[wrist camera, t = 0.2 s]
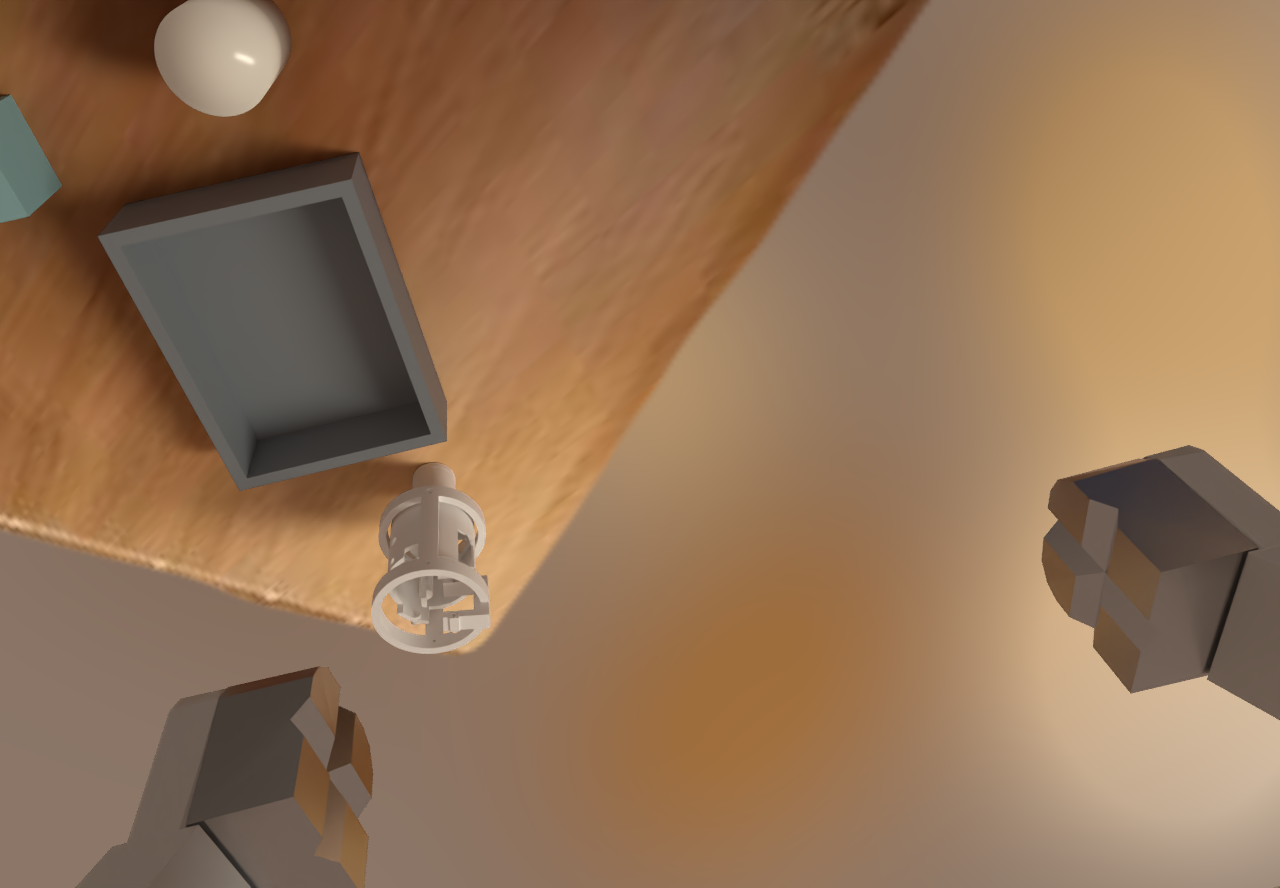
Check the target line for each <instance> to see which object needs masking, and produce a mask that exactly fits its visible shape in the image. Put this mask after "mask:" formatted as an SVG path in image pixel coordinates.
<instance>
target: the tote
mask: <svg viewBox="0 0 1280 888" xmlns="http://www.w3.org/2000/svg"><path fill="white" fill-rule="evenodd" d="M98 238H99V240H100V242H101V244H102V245H103V247H104V249H105V251H106V253H107V254H108V256H109V258H110V260H111V261H112V263H113V265H114V267H115V269H116V270H117V272H118V274H119V276H120V278H121V279H122V281H123V283H124V285H125V287H126V288H127V290H128V292H129V294H130V295H131V297H132V299H133V301H134V303H135V304H136V306H137V308H138V310H139V312H140V313H141V315H142V317H143V319H144V321H145V322H146V324H147V326H148V328H149V329H150V331H151V333H152V335H153V337H154V338H155V340H156V342H157V344H158V346H159V347H160V349H161V351H162V353H163V355H164V356H165V358H166V360H167V362H168V363H169V365H170V367H171V369H172V371H173V372H174V374H175V376H176V378H177V380H178V381H179V383H180V385H181V387H182V389H183V390H184V392H185V394H186V396H187V397H188V399H189V401H190V403H191V405H192V406H193V408H194V410H195V412H196V414H197V415H198V417H199V419H200V421H201V423H202V424H203V426H204V428H205V430H206V431H207V433H208V435H209V437H210V439H211V440H212V442H213V444H214V446H215V448H216V449H217V451H218V453H219V455H220V457H221V458H222V460H223V462H224V464H225V465H226V467H227V469H228V471H229V473H230V474H231V476H232V478H233V480H234V482H235V483H236V485H237V487H238V489H239V491H242V490H246V489H250V488H254V487H258V486H263V485H267V484H271V483H275V482H279V481H283V480H287V479H292V478H296V477H300V476H304V475H308V474H312V473H316V472H321V471H325V470H329V469H333V468H337V467H341V466H346V465H350V464H354V463H358V462H362V461H366V460H370V459H375V458H379V457H383V456H387V455H391V454H395V453H399V452H404V451H408V450H412V449H416V448H420V447H424V446H429V445H433V444H437V443H441V442H445V441H447V401H446V398H445V395H444V392H443V389H442V387H441V384H440V381H439V378H438V375H437V372H436V370H435V367H434V364H433V361H432V358H431V355H430V353H429V350H428V347H427V344H426V341H425V338H424V336H423V333H422V330H421V327H420V324H419V321H418V319H417V316H416V313H415V310H414V307H413V304H412V302H411V299H410V296H409V293H408V290H407V287H406V285H405V282H404V279H403V276H402V273H401V270H400V268H399V265H398V262H397V259H396V256H395V253H394V251H393V248H392V245H391V242H390V239H389V237H388V234H387V231H386V228H385V225H384V222H383V220H382V217H381V214H380V211H379V208H378V205H377V203H376V200H375V197H374V194H373V191H372V188H371V186H370V183H369V180H368V177H367V174H366V171H365V169H364V166H363V163H362V160H361V157H360V154H359V152H358V153H353V154H349V155H344V156H340V157H335V158H331V159H326V160H322V161H317V162H313V163H308V164H304V165H299V166H295V167H290V168H286V169H282V170H277V171H273V172H268V173H264V174H259V175H255V176H250V177H246V178H241V179H237V180H232V181H228V182H223V183H219V184H214V185H210V186H205V187H201V188H196V189H192V190H187V191H183V192H178V193H174V194H169V195H165V196H160V197H156V198H152V199H147V200H143V201H138V202H134V203H129V204H125V205H124V206H123V207H122V209H121V210H120V211H119V212H118V213H117V214H116V216H115V217H114V218H113V219H112V220H111V221H110V222H109V224H108V225H107V226H106V227H105V228H104V229H103V230H102V232H101V233H100V234H99V235H98Z"/></svg>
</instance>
